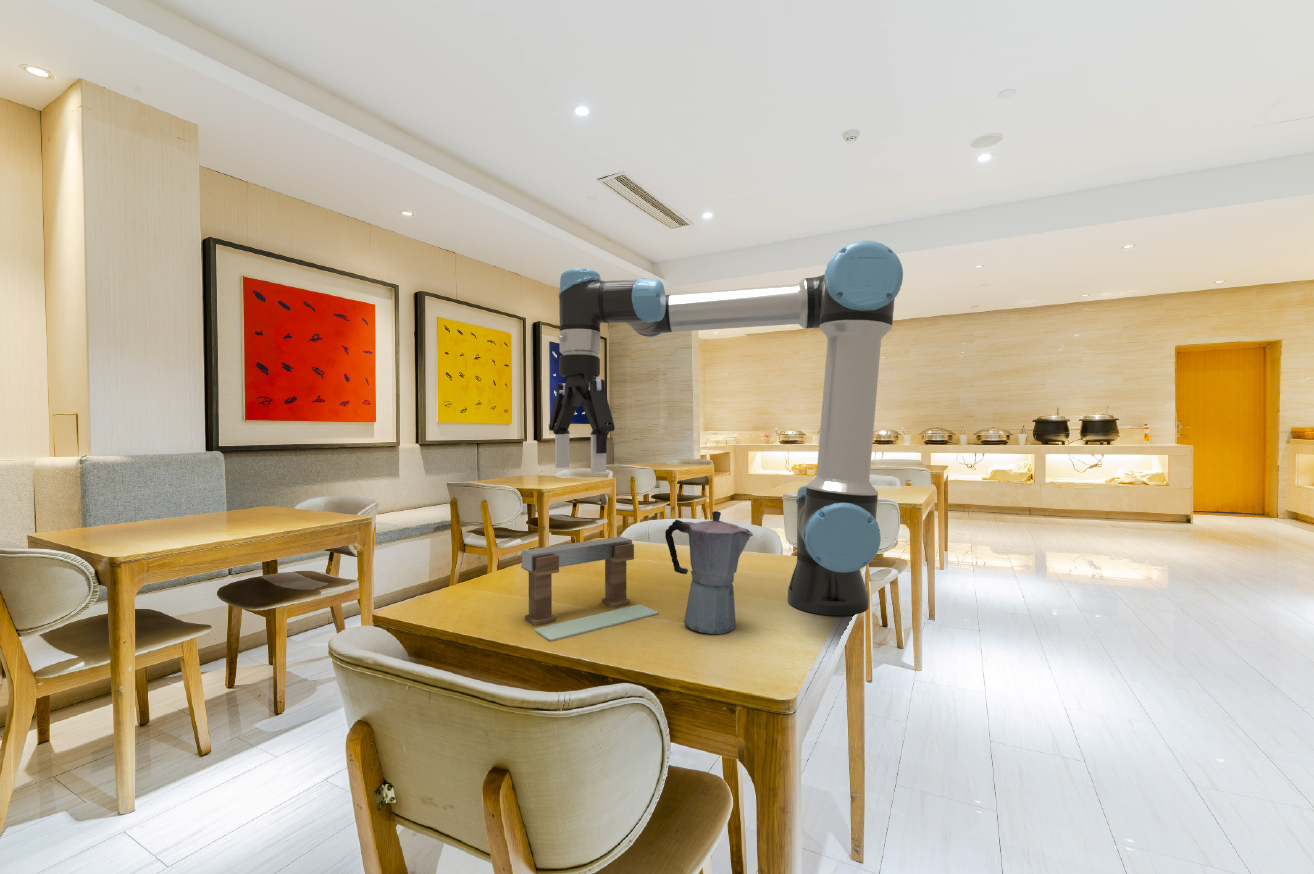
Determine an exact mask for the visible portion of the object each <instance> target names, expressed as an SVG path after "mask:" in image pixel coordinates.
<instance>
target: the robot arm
mask: <svg viewBox="0 0 1314 874" xmlns="http://www.w3.org/2000/svg"><path fill="white" fill-rule="evenodd" d="M559 279H560V281H559V293H558V300H559V301H558V303H559V305H558V306H559V307H558V308H559V311H558V312H559V315H558V316H559V335H558V338H557V339H558V340H559V353H561V355H560V356H559V358H558V359H559V360H558V362H559V363H558V367H559V368H558V374H559V376H560V377H563V378H565V383H561V382H559V383H557V384H556V393H555V394H556V396H555V400H554V403H553V404H554V405H553V407H552V413H551V417H550V422H549V426H548V430H549V431H552V433H553V434H554V438H555V439H554V453H555V454H554V468H555V469H566V468H567V469H569V468H570V434H571V432H570V430H569V429H570V427H571V423H572V421H573V418H574V416H575V414H576V411H577V410H578V409H579V408H580V407H581V408H583V411H584V413H585V416H586V418H587V420H588V423H589V425H590V428H591V429H592V430H591V432H590V473H595V474H596V473H607V448H608V447H607V445H608V443H607V441H608V435H609V434H610V432H614V431H615V427H616V426H615V423H614V420H613V415H612V412H611V407H610V404H609V401H608V397H607V396H608V395H607V393H606V381H605V380H604V379H600V378H598V377H600V376H601V375H600V374H601V358H600V357H599V356H598V355H600V354H601V324H603V323H604V324H610V323H611V324H612V323H613V324H614V323H616V324H617V323H619V324H621V323H622V324H624V323H626V324H627V325H628V326H629V327H631V329H633V331H635V333H637V334H638V335H641V336H643V337H647V338H653V337H654V338H655V337H657V336H659V335H661V334H668V333H678V332H692V331H705V330H708V331H709V330H724V329H739V328H754V327H769V326H784V325H799V326H800V327H801V328H803V329H804V330H808V329H819V330H820V331H821V332H822V333H823V334H824V335H825V336H826V338H827V343H826V355H825V366H824V367H825V368H824V379H823V390H822V393H823V394H822V395H823V396H822V404H821V405H822V406H821V418H820V429H819V439H818V440H819V441H818V442H819V443H818V453H817V454H818V455H817V465H816V476H815V477H814V478H813V479H812V480H811V481H810V482H809V483H807V484H806V485H803V486H801V487H799V488H798V490H797V494H796V495H797V496H796V499H795V503H796V563H795V566H794V569H793V572H792V574H791V578H790V582H789V584H788V588H787V602H788V604H790V606H792V607H794V608H796V609H798V610H801V611H804V612H809V613H813V614H817V615H824V616H834V615H838V616H840V617H841V616H842V617H843V616H846V617H847V616H854V615H859V614H863V613H865V612H867V611H868V610H869V605H870V604H869V600H870V599H869V593H868V591H867V588H866V584H865V580H864V578H863V574H862V572H861V569H863V568H865V567H866V566H868V565H869V564H870V563H871V562H872V561H873V560H874V558H875V557H876V556H877V555H878V552H879V551H880V550H879V549H880V547H881V538H882V537H881V529H880V526H879V523H878V522H877V511H878V496H879V492H878V490H877V489H876V488H875V487H874V485H872V483H871V482H870V477H871V464H872V451H873V441H874V430H875V429H874V427H875V419H876V417H875V415H876V407H877V393H878V382H879V381H878V380H879V369H880V360H881V358H880V357H881V348H882V347H881V346H882V339H883V338H884V336H886V335H887V334H888V333H889V332H891V331H892V329H893V323H894V322H893V321H894V309H895V299H896V298H897V296H898V294H899V292H900V291H901V287H902V284H903V281H904V280H903V279H904V270H903V264H902V262H901V260H900V258H899V257H898V255H897V254H896V253H895V251H893V250H892V249H891V248H890V247H888V246H887V245H885V244H884V243H881V242H878V241H875V240H874V241H873V240H858V241H855V242H852V243H849V244H846V245H845V246H844V247H842V248H841V249H839V251H837V252H836V254H834V255H833V256H832V257H831V259H830V260H829V261H828V263H827V264H826V268H825V271H824V274H823V275H818V276H814V277H806V278H805V277H803V278H802V279H801V280H800V281H799V282H798V283H796V284H786V285H771V286H761V287H749V288H748V287H745V288H734V289H719V290H712V291H711V290H710V291H696V292H685V293H673V294H666V290H665V287H664V283H663V282H662V281H661V280H659V279H650V278H649V279H647V278H638V279H625V280H623V279H622V280H607V281H606V280H605V281H604V280H602V279H601V275H600V273H599V272H598V271H597V270H594V269H591V268H583V267H575V268H569V269H566V270H564V271H563V272H561V275H560V278H559ZM838 616H837V617H838Z"/></svg>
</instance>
